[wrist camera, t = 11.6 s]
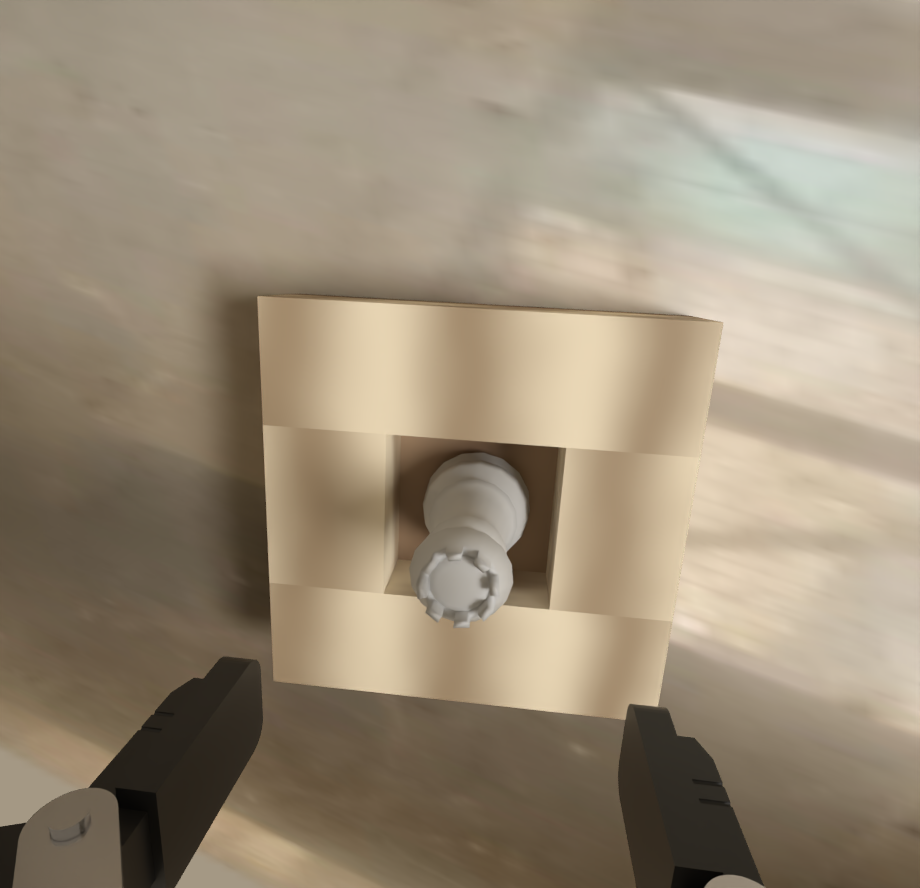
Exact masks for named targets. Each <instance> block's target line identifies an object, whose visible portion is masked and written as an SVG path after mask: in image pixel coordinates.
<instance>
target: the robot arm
mask: <svg viewBox="0 0 920 888" xmlns="http://www.w3.org/2000/svg"><path fill="white" fill-rule="evenodd" d="M262 723H263V712H262V690H261V670H260V664H259V662H258V661H257V660H251V659H243V658H234V657H222V658H221V659H219V660H218V662H217V663H216V664H215V665H214V667H213V668H212V669H211V670H210V671H209V673H208V674H207V675H206V676H205V678H204V679H199V678H193V679H191V680H190V681H188V682H187V683H185V684H184V685H182V686H181V687H179V688H178V689H176V690H174V691H173V692H171V693H170V694H169V696H168V697H167V698H166V699H165V700H164V701H163V703H162V704H161V705H160V706H159V707H158V708H157V709H156V711H155V714H154V715H151V716H150V717H149V719H148V720H147V721H146V722H145V723H144V724H143V726H142V728H141V730H138V731H137V732H136V734H135V735H134V736H133V737H132V738H131V739H130V740H129V742H128V743H127V744H126V745H125V746H124V747H123V749H122V750H121V751H120V752H119V753H118V754H117V755H116V757H115V758H114V759H113V760H112V761H111V762H110V763H109V765H108V766H107V767H106V768H105V769H104V770H103V772H102V773H101V774H100V775H99V776H98V777H97V778H96V780H95V781H94V782H93V783H92V784H91V785H90V787H89V788H84V789H79V790H75V791H72V792H69V793H67V794H64V795H62V796H60V797H58V798H56V799H54V800H52V801H51V802H49V803H48V804H46V805H45V806H43V807H42V808H41V809H39V810H38V811H37V812H36V813H35V814H34V815H33V816H32V817H31V818H30V819H29V820H28V821H27V823H22V824H15V825H9V826H3V827H0V888H175V886H176V884H177V883H178V881H179V879H180V878H181V876H182V874H183V873H184V871H185V869H186V867H187V866H188V864H189V862H190V860H191V859H192V857H193V855H194V854H195V852H196V850H197V849H198V847H199V845H200V843H201V842H202V840H203V838H204V836H205V835H206V833H207V831H208V830H209V828H210V826H211V824H212V823H213V821H214V819H215V818H216V816H217V814H218V812H219V811H220V809H221V807H222V805H223V804H224V802H225V800H226V799H227V797H228V795H229V793H230V792H231V790H232V788H233V787H234V785H235V783H236V781H237V780H238V778H239V776H240V774H241V773H242V771H243V769H244V768H245V766H246V764H247V762H248V761H249V759H250V757H251V756H252V754H253V752H254V750H255V748H256V746H257V744H258V741H259V738H260V734H261V730H262ZM618 784H619V796H620V802H621V807H622V812H623V818H624V823H625V828H626V834H627V839H628V844H629V850H630V855H631V860H632V865H633V871H634V876H635V881H636V887H637V888H765V887H764V885H763V883H762V880H761V878H760V875H759V873H758V870H757V868H756V865H755V863H754V860H753V858H752V855H751V853H750V850H749V848H748V845H747V843H746V840H745V838H744V835H743V833H742V830H741V828H740V825H739V823H738V820H737V818H736V815H735V813H734V810H733V808H732V807H731V806H730V800H729V798H728V795H727V793H726V790H725V788H724V787H723V786H722V780H721V778H720V775H719V773H718V770H717V768H716V765H715V763H714V760H713V759H712V758H711V756H710V755H709V754H708V753H707V752H706V751H705V750H704V748H703V747H702V746H701V745H700V744H699V743H698V742H697V740H696V739H695V738H690V737H682V736H677V734H676V731H675V728H674V725H673V722H672V719H671V716H670V713H669V711H668V709H667V708H664V707H655V706H646V705H638V704H629V706H628V709H627V714H626V720H625V727H624V734H623V740H622V747H621V753H620V760H619V771H618Z"/></svg>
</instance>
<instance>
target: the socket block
mask: <svg viewBox="0 0 920 888" xmlns="http://www.w3.org/2000/svg"><path fill="white" fill-rule="evenodd" d="M257 302H258V325H259V349H260V372H261V396H262V419H263V443H264V466H265V490H266V514H267V537H268V561H269V584H270V608H271V631H272V655H273V678H274V681H277V682H286V683H295V684H305V685H314V686H323V687H332V688H341V689H350V690H359V691H368V692H377V693H386V694H396V695H405V696H414V697H423V698H432V699H441V700H450V701H459V702H468V703H477V704H487V705H496V706H505V707H514V708H523V709H532V710H541V711H550V712H559V713H568V714H578V715H587V716H596V717H605V718H614V719H623V720H626V714H627V709H628V706H629V704H638V705H646V706H655V707H658V703H659V697H660V691H661V685H662V679H663V673H664V667H665V662H666V656H667V650H668V644H669V638H670V632H671V626H672V621H673V615H674V609H675V603H676V597H677V591H678V585H679V580H680V574H681V568H682V562H683V556H684V550H685V544H686V539H687V533H688V527H689V521H690V515H691V509H692V503H693V498H694V492H695V486H696V480H697V474H698V468H699V463H700V457H701V451H702V445H703V439H704V433H705V427H706V422H707V416H708V410H709V404H710V398H711V392H712V386H713V381H714V375H715V369H716V363H717V357H718V351H719V345H720V340H721V334H722V328H723V322H718V321H713V320H708V319H703V318H698V317H693V316H683V315H665V314H647V313H630V312H612V311H594V310H576V309H558V308H541V307H523V306H505V305H487V304H469V303H452V302H434V301H416V300H398V299H380V298H363V297H345V296H327V295H309V294H287V295H268V296H257ZM466 453H486V454H489V455H492V456H495V457H498V458H501V459H504V460H505V461H506V462H507V463H508V464H510V465H511V466H512V467H513V468H514V469H515V470H517V471H518V472H519V473H520V475H521V477H522V479H523V481H524V483H525V485H526V487H527V489H528V491H529V505H530V512H529V514H528V520H527V523H526V526H525V529H524V531H523V534H522V537H521V538H520V539H519V540H518V541H517V542H516V543H515V544H514V545H513V546H512V547H511V548H510V549H509V550H508V551H507V556H508V558H509V560H510V562H511V564H512V574H513V585H512V588H511V590H510V593H509V596H508V598H507V601H506V602H505V603H504V604H503V605H502V606H501V607H500V608H499V609H498V610H497V611H496V612H495V613H494V614H492V615H490V616H489V617H488V618H487V619H486V620H485V621H483V620H482V619H480V620H478V621H471V622H470V627H469V628H453V625H454V621H451V620H448V619H445V618H443V617H441V618H440V620H439V622H438V623H437V622H436V621H435V620H433V619H432V618H431V617H430V616H428V615H427V614H426V613H425V612H426V609H427V607H425V606H424V605H423V604H422V603H421V602H420V600H419V599H417V595H416V593H415V592H414V590H413V588H412V586H411V578H410V570H409V567H410V564H411V561H412V558H413V555H414V552H415V550H416V548H417V547H418V546H419V545H420V544H421V543H422V542H423V541H424V540H425V539H426V537H427V536H428V535H429V534H430V532H429V531H428V529H427V527H426V525H425V519H424V510H423V501H424V498H425V493H426V490H427V487H428V484H429V481H430V477H431V476H432V475H433V474H434V473H435V472H436V471H437V469H438V468H439V467H440V466H441V465H442V464H443V463H444V462H446V461H448V460H450V459H452V458H454V457H456V456H458V455H460V454H466Z"/></svg>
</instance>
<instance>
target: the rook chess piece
mask: <svg viewBox="0 0 920 888" xmlns="http://www.w3.org/2000/svg"><path fill="white" fill-rule="evenodd" d="M423 510H424V519H425V525H426V527H427V529H428V531H429V532H430V534H429V535H428V536H427V537H426V539H425V540H424V541H423V542H422V543H421V544H420V545H419V546H418V547H417V548H416V550H415V552H414V555H413V558H412V561H411V564H410V567H409V570H410V578H411V586H412V588H413V590H414V592H415V593H416V595H417V599H419V600H420V602H421V603H422V604H423V605H424V606H425V607H427V609H426V612H425V613H426V614H427V615H428V616H430V617H431V618H432V619H433V620H435V621H436V622H437V623H438V622H439V620H440V618H441V617H443V618H445V619H448V620H451V621H454V625H453V628H469V627H470V622H471V621H478V620H480V619H482V620H483V621H485V620H486V619H487V618H488V617H489V616H490V615H492V614H494V613H495V612H496V611H497V610H498V609H499V608H500V607H501V606H502V605H503V604H504V603H505V602H506V601H507V598H508V596H509V593H510V590H511V588H512V585H513V574H512V564H511V562H510V560H509V558H508V556H507V551H508V550H509V549H510V548H511V547H512V546H513V545H514V544H515V543H516V542H517V541H518V540H519V539H520V538H521V537H522V534H523V531H524V529H525V526H526V523H527V520H528V514H529V512H530V505H529V491H528V489H527V487H526V485H525V483H524V481H523V479H522V477H521V475H520V473H519V472H518V471H517V470H515V469H514V468H513V467H512V466H511V465H510V464H508V463H507V462H506V461H505V460H504V459H501V458H498V457H495V456H492V455H489V454H486V453H466V454H460V455H458V456H456V457H454V458H452V459H450V460H448V461H446V462H444V463H443V464H442V465H441V466H440V467H439V468H438V469H437V471H436V472H435V473H434V474H433V475H432V476H431V477H430V481H429V484H428V487H427V490H426V493H425V498H424V501H423Z"/></svg>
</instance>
